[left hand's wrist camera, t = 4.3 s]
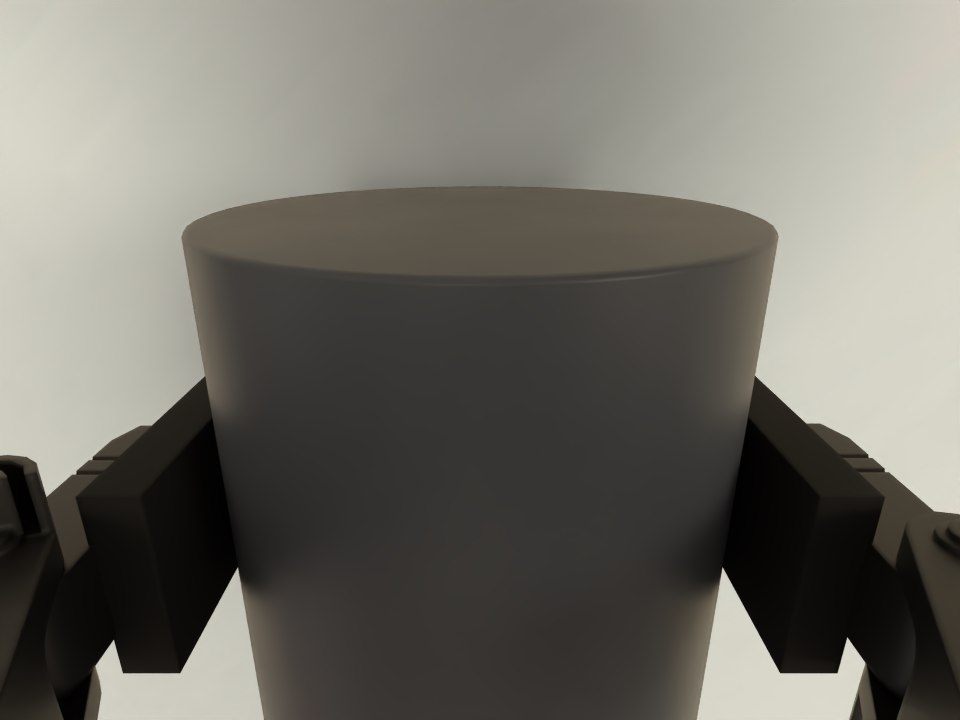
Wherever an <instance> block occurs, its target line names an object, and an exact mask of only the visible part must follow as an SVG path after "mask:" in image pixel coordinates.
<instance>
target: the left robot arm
mask: <svg viewBox="0 0 960 720" xmlns="http://www.w3.org/2000/svg"><path fill="white" fill-rule="evenodd" d="M237 568H238V564H237V558H236V552H235V546H234V540H233V535H232V529H231V523H230V517H229V511H228V505H227V500H226V494H225V488H224V482H223V476H222V470H221V465H220V459H219V453H218V447H217V441H216V435H215V430H214V424H213V418H212V412H211V406H210V400H209V395H208V389H207V383H206V377H204V378H203V379H202V380H201V381H199V382H198V383H197V384H196V385H195V386H194V387H193V388H192V389H191V390H190V391H189V392H188V393H187V394H186V395H184V396H183V397H182V398H181V399H180V400H179V401H178V402H177V403H176V404H175V405H174V406H173V407H172V408H170V409H169V410H168V411H167V412H166V413H165V414H164V415H163V416H162V417H161V418H160V419H159V420H158V421H157V422H155V423H154V424H153V425H152V426H139V427H137V428H135V429H133V430H131V431H129V432H127V433H125V434H123V435H121V436H119V437H117V438H115V439H113V440H112V441H111V442H109V443H108V444H107V445H106V446H105V447H104V448H103V449H101V450H100V451H99V452H98V453H97V454H96V455H95V456H93V460H89V461H88V462H86V463H85V464H84V465H83V466H82V467H81V468H80V469H78V470H77V473H76V475H72V476H70V477H69V478H68V479H67V480H66V481H65V482H63V483H62V484H61V485H60V486H59V487H58V488H57V489H55V490H54V491H53V492H52V493H51V494H50V495H49V496H47V497H46V495H45V491H44V488H43V484H42V481H41V477H40V474H39V471H38V467H37V464H36V462H34V461H32V460H30V459H29V458H27V457H21V456H11V455H4V456H0V720H97V718H98V712H99V705H100V699H101V688H100V681H99V677H98V674H97V670H96V667H95V665H96V664H97V663H98V661H99V660H100V658H101V657H102V656H103V654H104V653H105V651H106V650H107V648H108V647H109V646H110V644H111V643H112V641H113V640H114V642H115V645H116V649H117V653H118V656H119V660H120V664H121V668H122V671H123V673H181V671H182V669H183V667H184V665H185V663H186V662H187V660H188V658H189V656H190V654H191V652H192V651H193V649H194V647H195V645H196V643H197V641H198V639H199V638H200V636H201V634H202V632H203V630H204V628H205V627H206V625H207V623H208V621H209V619H210V617H211V615H212V614H213V612H214V610H215V608H216V606H217V604H218V603H219V601H220V599H221V597H222V595H223V593H224V592H225V590H226V588H227V586H228V584H229V582H230V580H231V579H232V577H233V575H234V573H235V571H236V569H237ZM723 569H724V570H725V572H726V574H727V576H728V578H729V580H730V581H731V583H732V585H733V587H734V589H735V591H736V593H737V594H738V596H739V598H740V600H741V602H742V604H743V605H744V607H745V609H746V611H747V613H748V615H749V617H750V618H751V620H752V622H753V624H754V626H755V628H756V629H757V631H758V633H759V635H760V637H761V639H762V641H763V642H764V644H765V646H766V648H767V650H768V652H769V653H770V655H771V657H772V659H773V661H774V663H775V664H776V666H777V668H778V670H779V672H780V673H838V669H839V666H840V662H841V658H842V655H843V651H844V647H845V644H846V640H847V637H848V639H849V640H850V642H851V643H852V644H853V646H854V647H855V649H856V650H857V651H858V653H859V654H860V656H861V657H862V658H863V660H864V661H865V667H864V670H863V674H862V677H861V681H860V684H859V687H858V691H857V694H856V698H855V701H854V705H853V708H852V712H851V715H850V718H849V720H960V515H959V514H953V513H944V512H934V511H933V510H932V509H931V508H930V507H928V506H927V505H926V504H925V503H924V502H923V501H921V500H920V499H919V498H918V497H917V496H916V495H914V494H913V493H912V492H911V491H910V490H909V489H908V488H906V487H905V486H904V485H903V484H902V483H901V482H899V481H898V480H897V479H896V478H895V477H894V476H892V475H891V474H890V473H889V472H885V469H884V468H883V467H882V466H881V465H880V464H879V463H877V462H876V461H875V460H874V459H873V458H869V457H868V454H867V453H866V452H865V451H863V450H862V449H861V448H860V447H859V446H858V445H856V444H855V443H854V442H853V441H852V440H851V439H850V438H848V437H846V436H844V435H842V434H840V433H838V432H836V431H834V430H832V429H830V428H828V427H826V426H824V425H822V424H806V423H805V422H804V421H803V420H802V419H801V418H800V417H799V416H798V415H796V414H795V413H794V412H793V411H792V410H791V409H790V408H789V407H788V406H787V405H786V404H785V403H784V402H782V401H781V400H780V399H779V398H778V397H777V396H776V395H775V394H774V393H773V392H772V391H771V390H770V389H769V388H767V387H766V386H765V385H764V384H763V383H762V382H761V381H760V380H759V379H758V378H757V377H756V376H755V378H754V384H753V390H752V396H751V402H750V408H749V413H748V419H747V425H746V431H745V437H744V443H743V449H742V455H741V461H740V467H739V472H738V478H737V484H736V490H735V496H734V502H733V508H732V514H731V520H730V526H729V531H728V537H727V543H726V549H725V555H724V561H723Z"/></svg>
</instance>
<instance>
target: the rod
mask: <svg viewBox="0 0 960 720" xmlns="http://www.w3.org/2000/svg"><path fill="white" fill-rule="evenodd" d="M777 242H778V234H777V231H776V230H775V228H774V226H773V225H771V224H770V223H768V222H767V221H765V220H763V219H761V218H759V217H756V216H754V215H751V214H749V213H746V212H743V211H739V210H736V209H733V208H728V207H724V206H720V205H715V204H710V203H704V202H699V201H693V200H686V199H680V198H673V197H664V196H656V195H647V194H637V193H626V192H614V191H600V190H584V189H564V188H538V187H425V188H399V189H379V190H363V191H349V192H337V193H326V194H316V195H306V196H298V197H290V198H283V199H276V200H269V201H263V202H258V203H252V204H247V205H242V206H238V207H234V208H229V209H226V210H222V211H219V212H216V213H212V214H210V215H207V216H205V217H203V218H200V219H198V220H196V221H194V222H193V223H191V224H190V225H188V226H187V227H186V229H185V230H184V232H183V234H182V243H183V249H184V254H185V260H186V266H187V272H188V278H189V284H190V289H191V295H192V301H193V307H194V313H195V319H196V324H197V330H198V336H199V342H200V348H201V354H202V359H203V365H204V371H205V377H206V383H207V389H208V395H209V400H210V406H211V412H212V418H213V424H214V430H215V435H216V441H217V447H218V453H219V459H220V465H221V470H222V476H223V482H224V488H225V494H226V500H227V505H228V511H229V517H230V523H231V529H232V535H233V540H234V546H235V552H236V558H237V564H238V570H239V576H240V581H241V587H242V593H243V599H244V605H245V611H246V616H247V622H248V628H249V634H250V640H251V646H252V651H253V657H254V663H255V669H256V675H257V681H258V686H259V692H260V698H261V704H262V710H263V716H264V720H697V714H698V708H699V703H700V697H701V691H702V685H703V679H704V673H705V667H706V661H707V655H708V649H709V644H710V638H711V632H712V626H713V620H714V614H715V608H716V602H717V596H718V590H719V585H720V579H721V573H722V567H723V561H724V555H725V549H726V543H727V537H728V531H729V526H730V520H731V514H732V508H733V502H734V496H735V490H736V484H737V478H738V472H739V467H740V461H741V455H742V449H743V443H744V437H745V431H746V425H747V419H748V413H749V408H750V402H751V396H752V390H753V384H754V378H755V372H756V366H757V360H758V354H759V349H760V343H761V337H762V331H763V325H764V319H765V313H766V307H767V301H768V295H769V290H770V284H771V278H772V272H773V266H774V260H775V254H776V248H777Z"/></svg>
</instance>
